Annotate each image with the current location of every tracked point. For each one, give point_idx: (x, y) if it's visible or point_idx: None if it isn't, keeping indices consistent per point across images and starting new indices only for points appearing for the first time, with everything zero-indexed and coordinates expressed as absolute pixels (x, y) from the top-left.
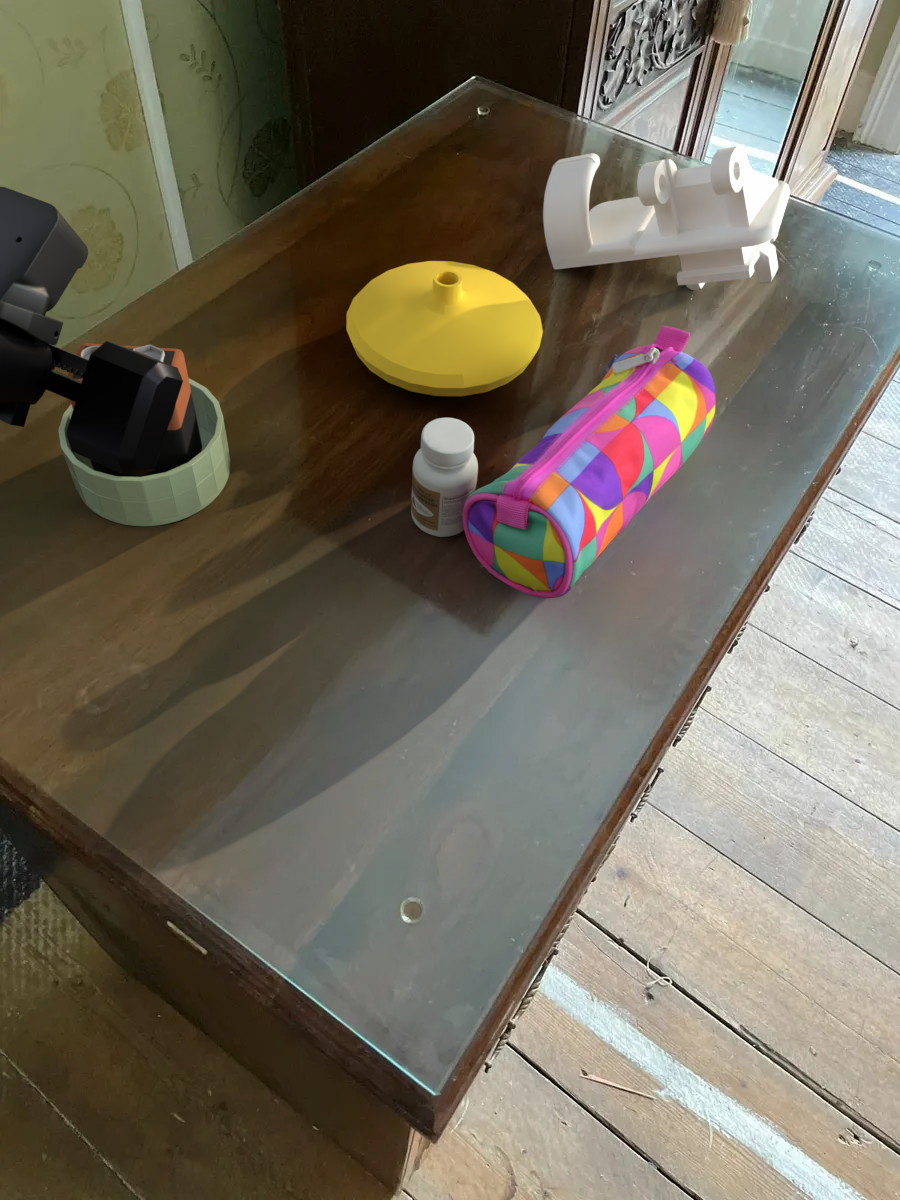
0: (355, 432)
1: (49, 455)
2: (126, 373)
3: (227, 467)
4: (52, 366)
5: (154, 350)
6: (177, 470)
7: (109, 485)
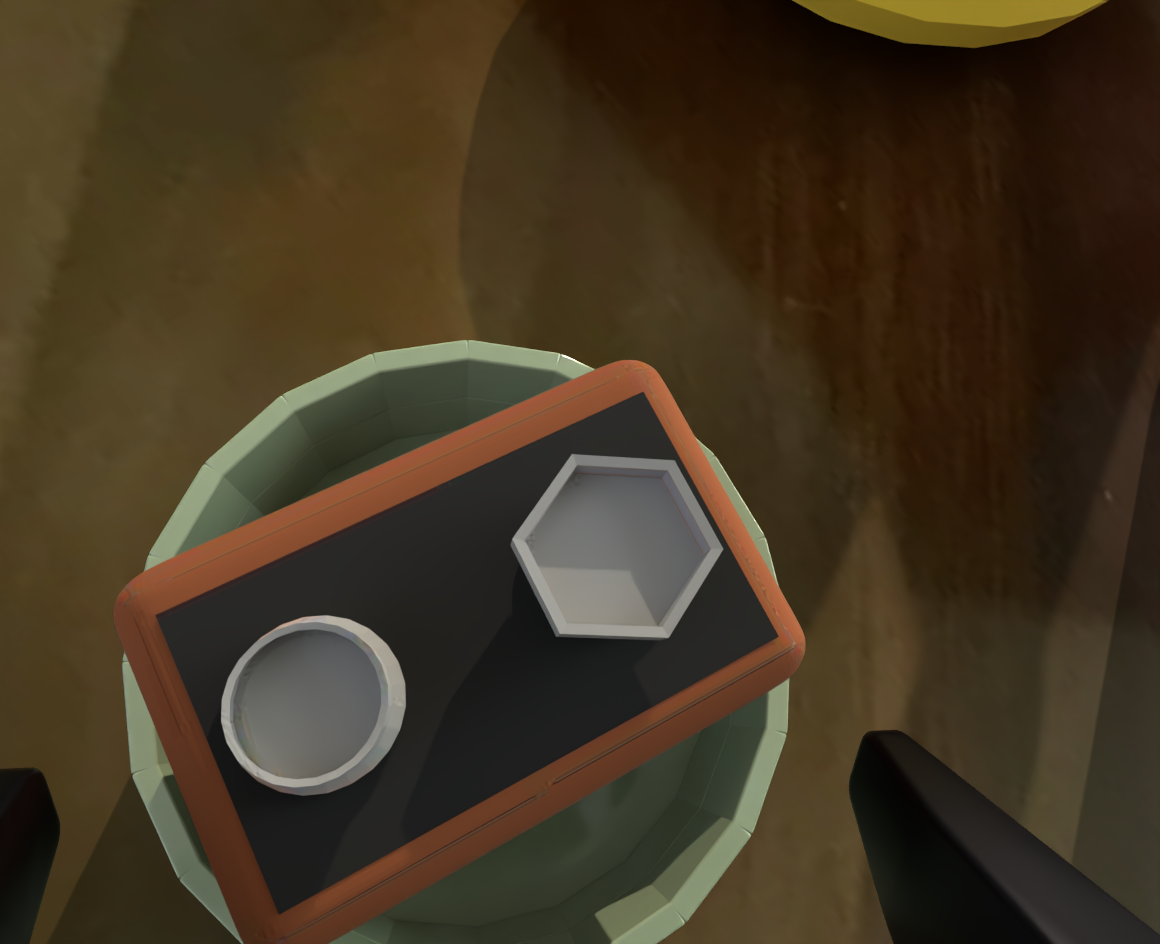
0: (873, 232)
1: (93, 800)
2: None
3: None
4: (45, 825)
5: (599, 471)
6: (765, 789)
7: None
